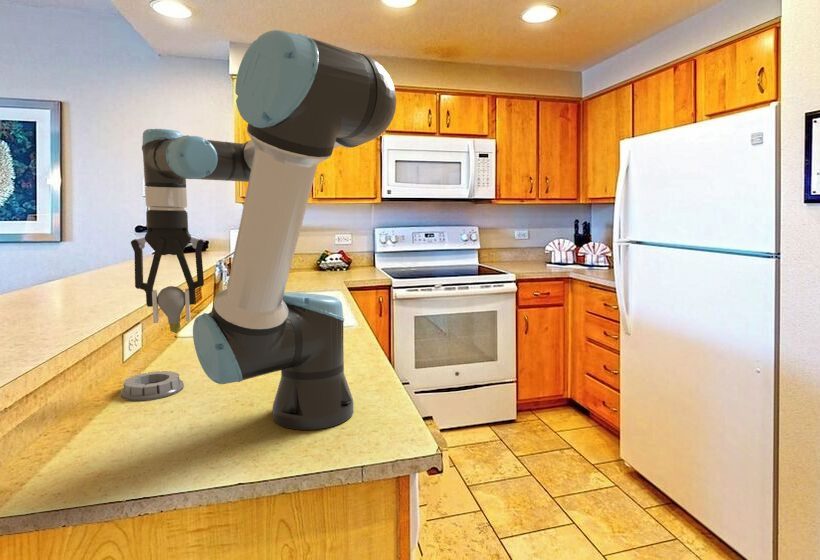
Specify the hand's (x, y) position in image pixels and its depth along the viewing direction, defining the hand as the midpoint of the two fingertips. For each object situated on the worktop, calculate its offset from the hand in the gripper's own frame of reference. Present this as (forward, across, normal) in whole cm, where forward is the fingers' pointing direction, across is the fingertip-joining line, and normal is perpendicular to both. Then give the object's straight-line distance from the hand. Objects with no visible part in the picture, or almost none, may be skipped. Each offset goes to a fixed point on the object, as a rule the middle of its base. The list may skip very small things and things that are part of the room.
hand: (172, 320), depth 104 cm
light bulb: (+3, 0, 0) cm, 3 cm away
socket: (+16, +5, -2) cm, 17 cm away
